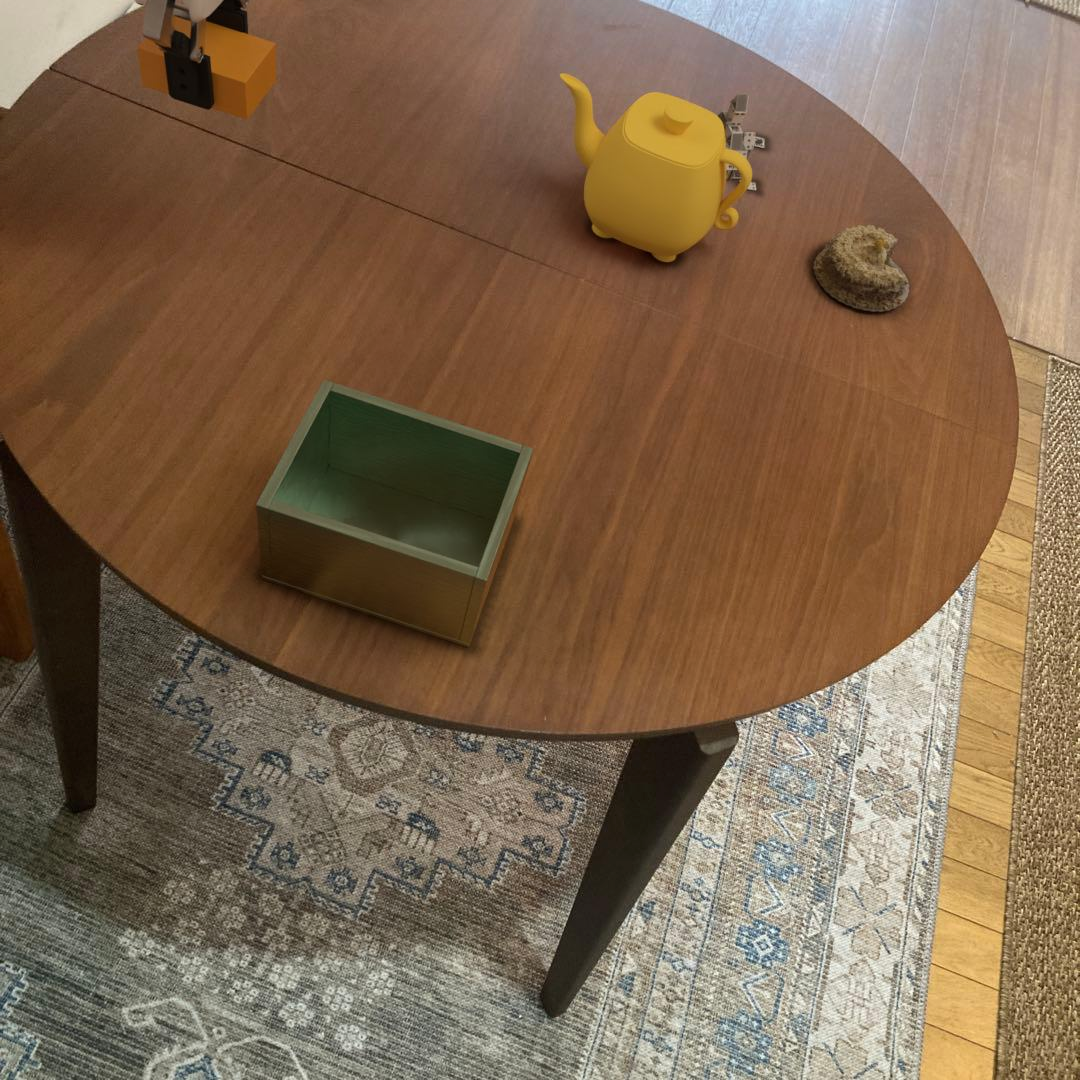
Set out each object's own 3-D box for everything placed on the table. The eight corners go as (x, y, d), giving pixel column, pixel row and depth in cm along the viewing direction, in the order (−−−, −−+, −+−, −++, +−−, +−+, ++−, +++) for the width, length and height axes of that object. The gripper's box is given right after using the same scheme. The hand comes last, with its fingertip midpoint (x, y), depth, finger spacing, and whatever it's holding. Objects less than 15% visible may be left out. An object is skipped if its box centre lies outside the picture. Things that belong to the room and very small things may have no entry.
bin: (261, 579, 74) (255, 504, 66) (322, 459, 81) (323, 378, 73) (468, 647, 74) (486, 580, 66) (512, 522, 81) (534, 448, 73)
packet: (142, 86, 75) (136, 47, 73) (176, 47, 78) (171, 9, 76) (247, 120, 75) (245, 82, 73) (276, 79, 79) (275, 42, 76)
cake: (823, 316, 101) (842, 274, 97) (801, 246, 107) (817, 203, 102) (920, 317, 103) (942, 275, 98) (893, 248, 108) (913, 206, 104)
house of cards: (790, 190, 110) (819, 128, 104) (715, 190, 108) (740, 127, 102) (762, 136, 115) (788, 73, 109) (690, 135, 113) (712, 71, 106)
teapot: (706, 297, 99) (752, 188, 88) (513, 220, 100) (536, 103, 89) (739, 214, 107) (786, 105, 96) (560, 143, 108) (587, 27, 97)
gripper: (188, -265, 67) (211, 6, 82) (52, -158, 57) (106, 128, 72) (300, -229, 67) (302, 36, 82) (183, -116, 57) (209, 161, 72)
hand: (210, 76), depth 77 cm, fingers closed on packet, 5 cm apart
